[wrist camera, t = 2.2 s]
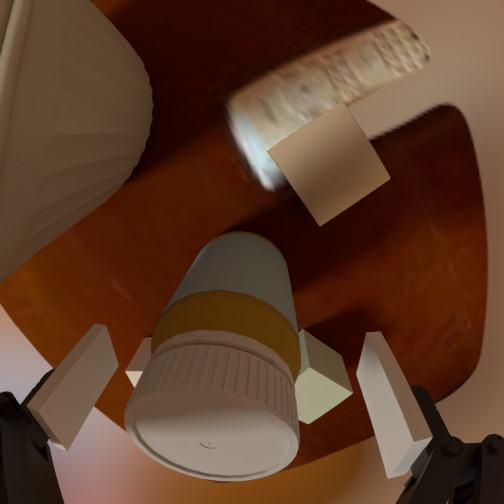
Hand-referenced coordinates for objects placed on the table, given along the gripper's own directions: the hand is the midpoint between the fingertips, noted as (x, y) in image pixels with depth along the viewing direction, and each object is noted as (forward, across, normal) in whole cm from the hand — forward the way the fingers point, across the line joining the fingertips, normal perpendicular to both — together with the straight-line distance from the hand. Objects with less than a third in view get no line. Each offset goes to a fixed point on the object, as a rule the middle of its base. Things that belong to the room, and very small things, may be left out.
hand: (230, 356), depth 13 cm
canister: (+10, -12, +13) cm, 20 cm away
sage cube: (+10, +5, -8) cm, 14 cm away
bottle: (+10, 0, 0) cm, 10 cm away
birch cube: (+10, +5, +9) cm, 14 cm away
